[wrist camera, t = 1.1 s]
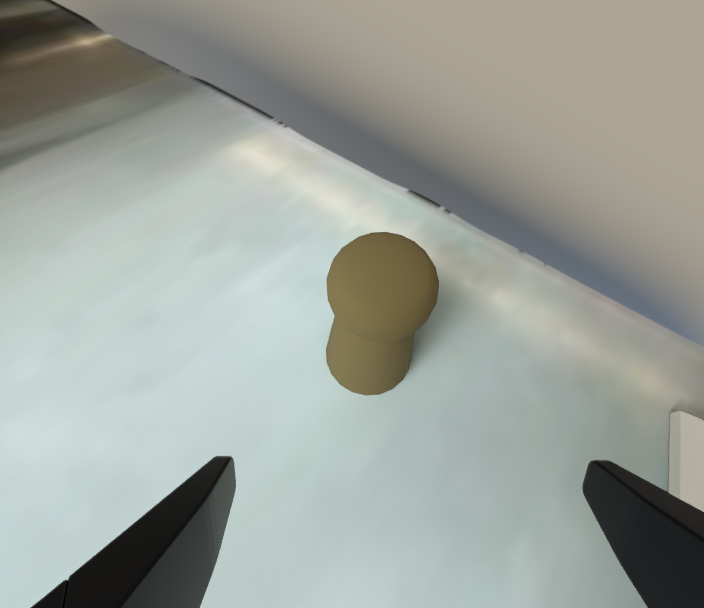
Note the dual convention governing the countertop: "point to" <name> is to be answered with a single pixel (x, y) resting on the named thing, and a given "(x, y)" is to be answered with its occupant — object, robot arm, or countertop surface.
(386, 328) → the cork
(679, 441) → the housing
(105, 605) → the robot arm
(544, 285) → the countertop surface
